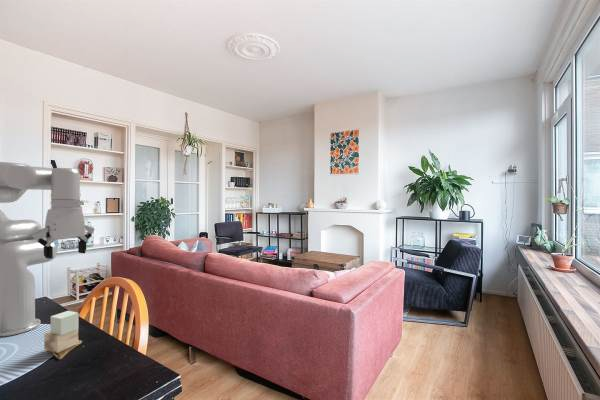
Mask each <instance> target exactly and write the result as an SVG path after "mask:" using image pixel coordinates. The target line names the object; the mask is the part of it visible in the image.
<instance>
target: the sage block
mask: <svg viewBox="0 0 600 400" xmlns="http://www.w3.org/2000/svg"><path fill="white" fill-rule="evenodd" d="M79 315H80V314H79V312H77V311H71V310H66V311H63V312H59V313H56V314H54V315H51V316H50V331H51V333H54V334H58V335H63V334H66V333H68V332H71V331H73V330H76V329H78V330H79V323H80V322H79Z"/></svg>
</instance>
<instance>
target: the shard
mask: <svg viewBox="0 0 600 400" xmlns="http://www.w3.org/2000/svg"><path fill="white" fill-rule="evenodd" d="M82 343H83V341H82V340H79V339H78V344H76V345H74V346H72V347H70V348H67V349H65V350H63V351H61V352H59V353H56V352H52V351H50V352H51V353H52V355H53V356H54V357H55V358H57V359H58V360H61V359H63V358H64V357H65V356H66V355H68V354H69V353H70V352H71V351H72V350H75V348H76V347H78V346H79V345H80V344H82Z"/></svg>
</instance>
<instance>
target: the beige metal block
mask: <svg viewBox="0 0 600 400" xmlns="http://www.w3.org/2000/svg"><path fill="white" fill-rule="evenodd" d="M78 340H79V328H78V329H76V330H73V331H71V332H68V333H66V334H63V335H58V334H54V333H51V330H49V331H47V332H44V333H43V341H44V343H43V344H44V345H43V346H44V349H43V350H44V351H48V352H51V351H52V352H51V353H53V352H56V353H59V352H61V351H63V350H65V349H67V348H70V347H72V346H74V345H76V344H78Z"/></svg>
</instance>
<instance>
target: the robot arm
mask: <svg viewBox="0 0 600 400" xmlns="http://www.w3.org/2000/svg"><path fill="white" fill-rule="evenodd" d="M80 179H81V176H80V171H79V170H78V169H76V168H70V167H55V168H51V167H42V166H31V165H29V164H26V163H19V162H9V161H8V162H6V161H0V204H6V203H7V204H8V203H10V204H11V203H14V202H17V201H18V200H19V199H20V198H21V197H23V195H24V194H25V193H26V192H27V191H28V190H33V191H34V190H35V191H36V190H40V191H41V190H43V191H45V190H48V191H50V195H51V196H50V199H51V200H50V205H51V206H50V207H51V208H50V209H47V212H46V216H45V223H44V227H43V226H42V225H41V224H40V223H39V222H37V221H36V220H34V219H33V220H32V219H10V218H8V216H7V215H6V214H5V213H4V212H3V211H2V210H1V209H0V337H7V336H8V337H9V336H14V335H18V334H23V333H27V332H29V331H31V330H34V329H36V328H38V327H39V326H41V323H42V322H41V319H39V318H36V296H35V295H36V288H35V287H36V281H35V275H34V274H33V273H32V272H31V271H30V269H28V268H27V267H31V266H34V265H39V264H46V263H48V262H51V261H53V260H54V259H55V258H56V257H57V254H58V247H57V245H56V243H55V241H56V240H67V239H75V238H77V239H78V240H79V241H78V243H77V245H78V246H77V249H78V250H77V251H78V254H79V253H80V254H86V251H87V242H88V241H89V239H91V237H92V235H93V233H94V232H95V228H94V227H92V226H89V225H86V224H85V216H84V213H83V209H82V208H81V206H84V201H83V200H81V197H80V195H81V194H80V192H81V190H80V187H81V186H80V185H81V184H80V183H81V181H80ZM86 230H87V232H86Z"/></svg>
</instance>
